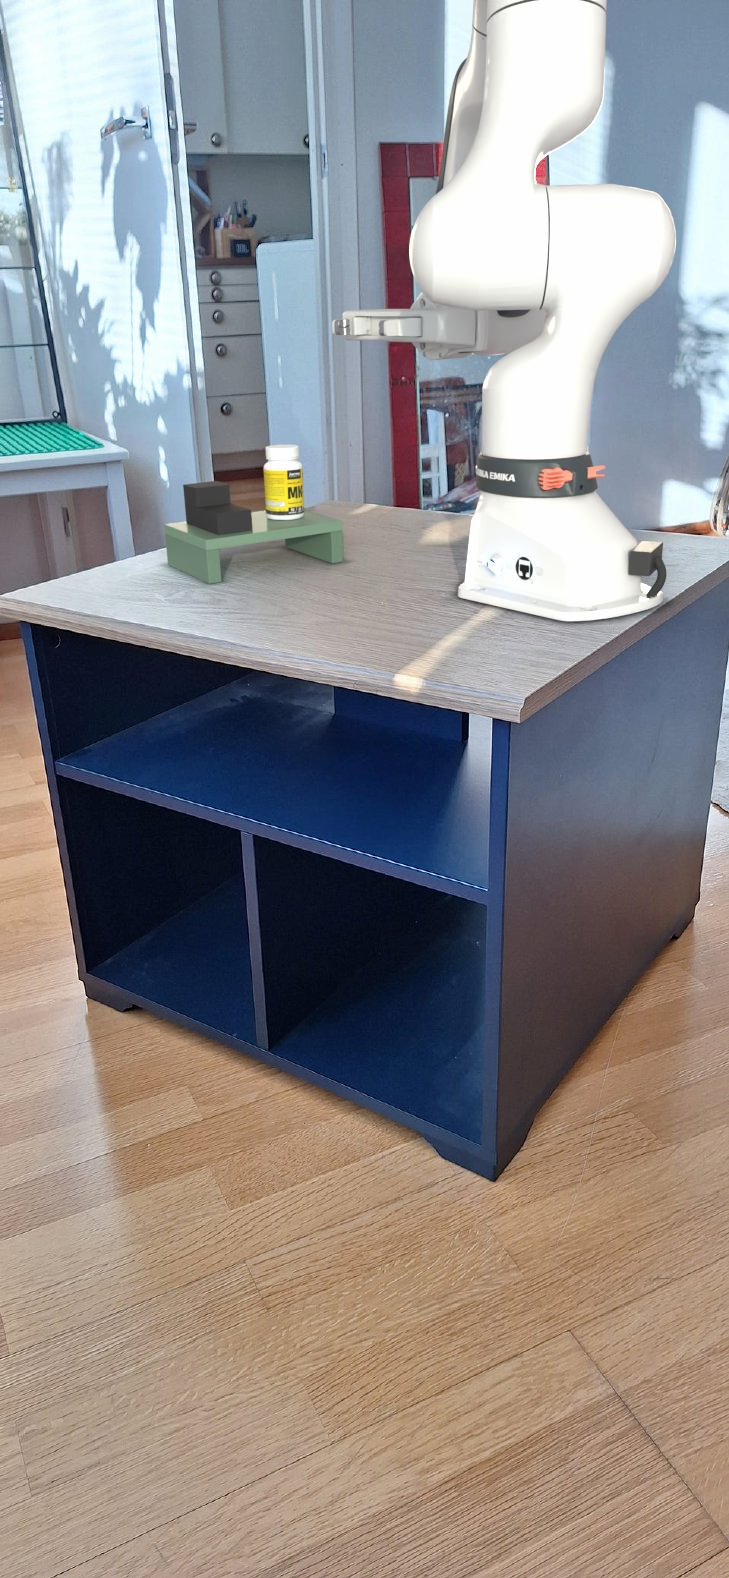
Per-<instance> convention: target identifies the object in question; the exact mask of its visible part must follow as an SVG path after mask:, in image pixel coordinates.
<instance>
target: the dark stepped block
mask: <svg viewBox="0 0 729 1578" xmlns="http://www.w3.org/2000/svg"><path fill="white" fill-rule="evenodd" d="M182 488H183V496H184V497H183V498H184V499H183V500H184V510H185V519H186V520H185V521H186V523H187V524H190V525H192V526H195V527H198V528H200V529H203V530H206V531H208V532H211V533H214V534H217V535H224V534H231V533H238V532H245V531H252V515H251V512H252V509H251V508H250V509H249V508H247V507H244V506H240V505H237V504H234V503H231V489H230V484H229V483H225V482H222V481H219V480H211V481H203V482H194V483H186V484H183V485H182Z"/></svg>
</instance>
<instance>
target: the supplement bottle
mask: <svg viewBox="0 0 729 1578" xmlns="http://www.w3.org/2000/svg"><path fill="white" fill-rule="evenodd" d="M298 459H300V447H299V445H298V444H287V443H286V444H273V445H267V446H265V460H267V462H266V463H264V465H263V483H264V484H263V485H264V504H265V511H266V517H267V518H269V519H272V520H294V519H299V518H301V517H303V516H304V510H305V502H304V501H305V499H304V498H305V497H304V495H305V494H304V472H303V471H304V470H303V464H302V462H301V461H299V460H298Z"/></svg>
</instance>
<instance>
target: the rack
mask: <svg viewBox="0 0 729 1578" xmlns="http://www.w3.org/2000/svg"><path fill="white" fill-rule="evenodd" d="M251 515H252V531H245V532H238V533H231V534H224V535H217V534H214V533H211V532H208V531H206V530H203V529H200V528H198V527H195V526H192V525H190V524H187V523H186V520H185V521H175V522H169V523H164V524H163V528H164V538H165V547H166V557H167V565H168V566H169V567H172V568H174V569H175V570H178V571H180V572H183V573H184V574H187V575H189V576H191V577H194V578H196V579H198V580H200V581H203V582H205V583H207V584H209V585H211V584H216V583H221V582H222V580H223V579H222V567H221V557H220V556H221V555H220V549H227V548H228V549H229V548H234V547H240V546H247V545H253V544H260V543H267V542H268V543H269V542H274V541H280V540H281V541H282V540H284V545H285V546H284V547H285V548H287V549H290V550H293V551H295V552H299V553H302V554H304V555H307V556H310V557H313V558H316V559H318V560H321V561H323V562H324V561H325V562H327V563H330V564H339V563H343V562H344V542H343V541H344V540H343V539H344V536H343V520H341V519H338V518H335V517H331V516H328V515H325V514H320V513H317V512H313V511H311V510H306V509H304V516H303V517H301V518H299V519H294V520H272V519H269V518H267V517H266V510H259V511H251Z"/></svg>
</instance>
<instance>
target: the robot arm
mask: <svg viewBox="0 0 729 1578" xmlns="http://www.w3.org/2000/svg"><path fill="white" fill-rule="evenodd" d="M607 1H608V0H473V4H472V5H473V6H472V21H471V22H472V24H471V34H470V35H471V36H470V43H469V49H468V53H467V56H466V58H465V59H464V60H463V61H462V62H461V63H460V65H459V67H458V68H457V70H456V73H455V76H454V78H453V82H452V85H451V90H450V95H449V100H448V107H447V113H446V114H447V115H446V119H445V120H446V121H445V128H444V134H443V135H444V136H443V143H442V150H441V159H440V165H439V172H438V173H439V174H438V181H437V186H436V191H435V194H434V196H432V197H431V198H430V199H429V200H428V201H427V202H426V203H425V205H424V206H423V208H422V209H421V210H420V212H419V214H418V215H417V218H416V220H415V222H414V224H413V227H412V229H411V233H410V238H409V247H408V248H409V249H408V251H409V252H408V254H409V255H408V256H409V265H410V269H411V273H412V275H413V278H414V281H415V283H416V284H417V285H416V286H417V287H418V289H419V290H420V293H419V294H418V296H417V297H416V298H415V301H413V303H412V304H411V306H410V308H374V309H373V308H370V309H349V310H345V311H344V312H342V318H341V319H340V318H339V319H333V320H332V322H331V332H332V334H333V335H335V336H343V339H344V340H347V341H358V342H359V341H361V342H386V343H387V342H388V343H389V342H391V343H393V342H394V343H411V344H412V345H413V346H414V347H415V348H416V349H417V351H418V352H419V353H420V355H422V357H424V358H426V359H427V360H430V361H440V360H441V361H443V360H453V359H464V358H467V357H469V356H472V355H475V356H478V357H490V356H499V355H504V356H503V357H501V358H500V359H498V360H497V361H496V362H495V363H494V364H493V365H492V366H491V367H490V369H489V370H488V371H487V373H486V375H485V378H484V380H483V383H482V390H481V392H482V394H481V447H480V448H481V449H480V450H481V451H480V452H479V453H478V454H477V456H476V457H477V458H476V465H475V476H476V477H475V479H476V480H475V481H476V482H475V483H476V484H475V486H476V488H477V489H478V490H479V493H478V494H479V495H478V499H477V504H476V507H475V509H474V512H473V514H472V516H471V521H470V528H469V536H468V545H467V553H466V554H467V555H466V563H465V572H464V574H465V575H464V581H463V582H462V583H461V584H460V585H459V586H458V589H457V597H458V598H460V599H464V600H467V601H472V602H478V603H481V604H486V605H490V606H494V607H499V608H502V609H507V610H512V611H517V612H520V613H525V614H529V615H534V616H538V617H543V618H547V619H552V620H556V621H562V622H586V621H597V620H602V619H603V620H606V619H611V618H617V617H623V616H628V615H631V614H635V613H641V612H644V611H648V610H650V609H652V608H654V607H657V606H659V605H660V604H661V603H663V601H664V592H663V591H662V589H663V588H664V585H665V583H666V580H667V568H666V565H665V563H664V561H663V551H664V550H663V549H664V542H663V541H653V540H652V541H651V540H642V541H641V542H638V541H637V539H636V538H635V537H634V535H633V534H632V533H631V532H630V530H628V529H627V528H626V526H625V525H624V524H623V523H622V522H621V521H620V519H619V518H618V517H617V516H616V514H615V513H614V512H613V511H612V509H611V508H610V507H609V505H607V504H606V503H605V502H604V500H603V499H602V498H601V497H600V495H599V494H598V493H597V490H598V488H599V486H598V485H599V484H598V482H597V479H599V478H604V477H605V476H606V474H604V473H603V474H602V473H601V474H600V473H597V472H598V471H599V472H600V471H602V470H604V469H606V465H596V466H594V464H593V458H592V455H591V453H590V452H589V450H588V451H587V446H588V442H589V427H590V417H591V416H590V415H591V409H592V408H591V407H592V401H593V393H594V385H595V382H596V381H595V380H596V376H597V372H598V369H599V366H600V363H601V361H602V359H603V358H602V357H603V355H604V353H605V350H606V348H607V347H608V345H609V343H610V342H611V339H612V338H613V337H614V335H615V333H616V331H617V330H618V329H619V327H620V326H621V325H622V324H623V322H624V321H625V320H626V319H627V318H628V317H629V316H630V314H631V313H632V312H634V311H635V310H636V309H637V308H638V307H639V306H640V305H641V304H643V303H645V301H647V300H648V299H649V298H650V297H652V295H653V294H655V292H656V291H658V289H659V288H660V287H661V285H662V284H663V282H664V281H665V279H666V278H667V276H668V274H669V272H670V270H671V267H672V264H673V262H674V258H675V253H676V247H677V246H676V245H677V233H676V226H675V222H674V218H673V216H672V212H671V210H670V208H669V207H668V205H667V203H666V202H665V200H664V198H662V196H661V195H660V194H659V193H658V192H655V191H651V190H647V189H642V188H639V187H633V186H627V185H623V184H622V185H621V184H617V183H591V184H590V183H587V184H586V183H585V184H584V183H583V184H555V185H554V184H552V185H545V184H544V183H543V184H541V183H538V182H537V180H536V168H537V165H538V164H539V163H540V161H542V160H543V159H544V158H545V157H546V156H548V155H549V154H551V153H552V152H554V151H557V150H558V149H560V148H562V147H564V146H566V145H567V144H569V143H570V142H572V141H574V140H575V139H576V138H578V137H579V136H581V135H583V134H584V133H585V132H586V131H587V130H588V129H589V128H590V127H591V126H592V124H594V122H595V120H596V119H597V117H598V115H599V113H600V111H601V108H602V105H603V101H604V96H605V95H604V94H605V70H606V69H605V67H606V66H605V65H606V39H607V38H606V36H607V35H606V34H607V7H608V6H607V3H608V2H607ZM595 490H596V491H595ZM655 572H657V576H656V579H655V581H654V583H653V585H652V586H650V585H648V584H645V583H642V577H650V576H651V575H653V574H654V573H655Z"/></svg>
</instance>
